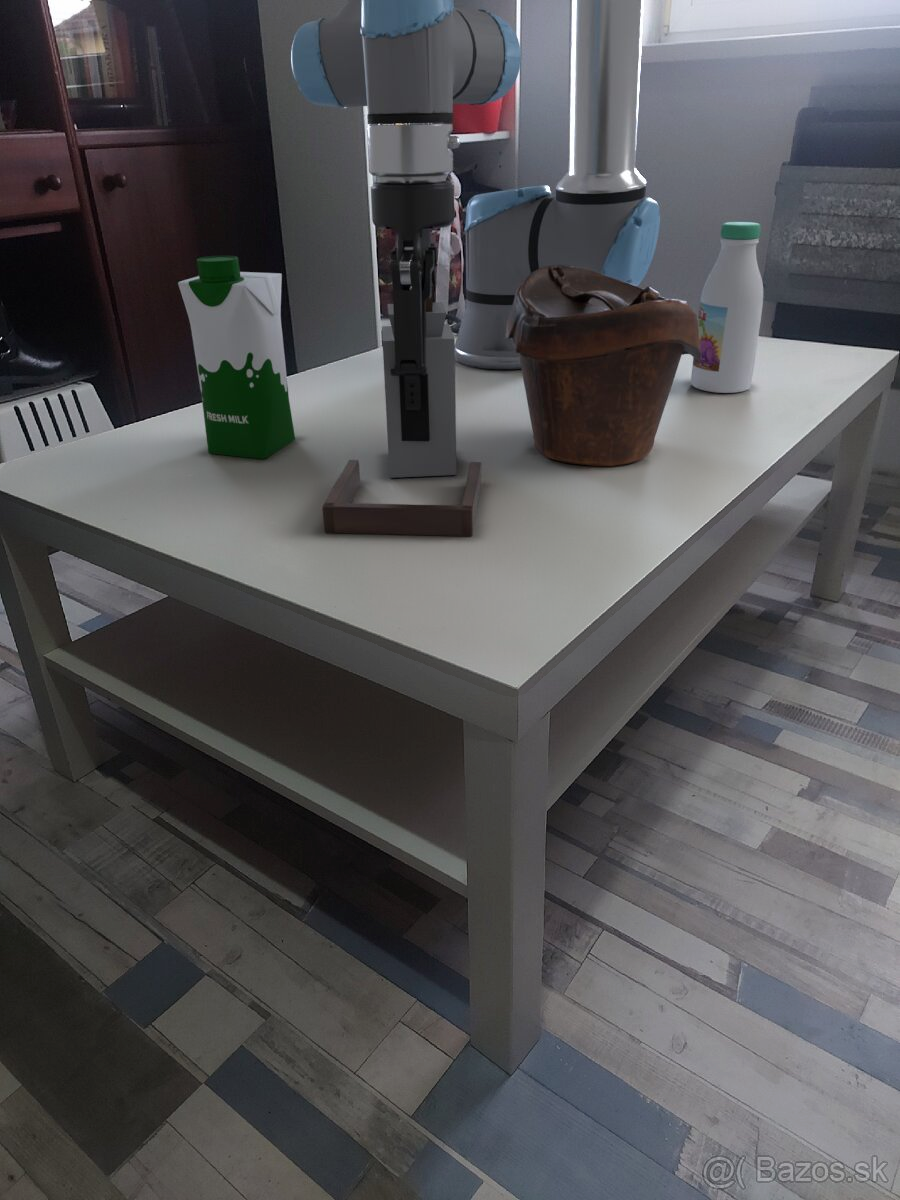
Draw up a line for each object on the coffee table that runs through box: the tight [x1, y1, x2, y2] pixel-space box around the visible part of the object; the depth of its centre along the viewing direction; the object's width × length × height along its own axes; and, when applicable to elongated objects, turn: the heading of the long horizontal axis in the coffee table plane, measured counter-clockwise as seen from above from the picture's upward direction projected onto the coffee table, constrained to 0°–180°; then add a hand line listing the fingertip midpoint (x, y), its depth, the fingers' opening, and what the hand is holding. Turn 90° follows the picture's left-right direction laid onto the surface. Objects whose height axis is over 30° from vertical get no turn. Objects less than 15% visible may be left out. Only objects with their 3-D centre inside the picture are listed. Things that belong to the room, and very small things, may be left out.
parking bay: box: [321, 459, 482, 537], centre depth 82 cm, size 12×13×2 cm
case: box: [506, 265, 701, 467], centre depth 92 cm, size 18×20×18 cm
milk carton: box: [177, 255, 296, 460], centre depth 94 cm, size 9×9×20 cm
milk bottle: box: [690, 221, 764, 394], centre depth 113 cm, size 8×8×20 cm
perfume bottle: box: [381, 283, 458, 479], centre depth 88 cm, size 7×7×18 cm
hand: (420, 429), depth 91 cm, fingers closed on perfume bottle, 6 cm apart
